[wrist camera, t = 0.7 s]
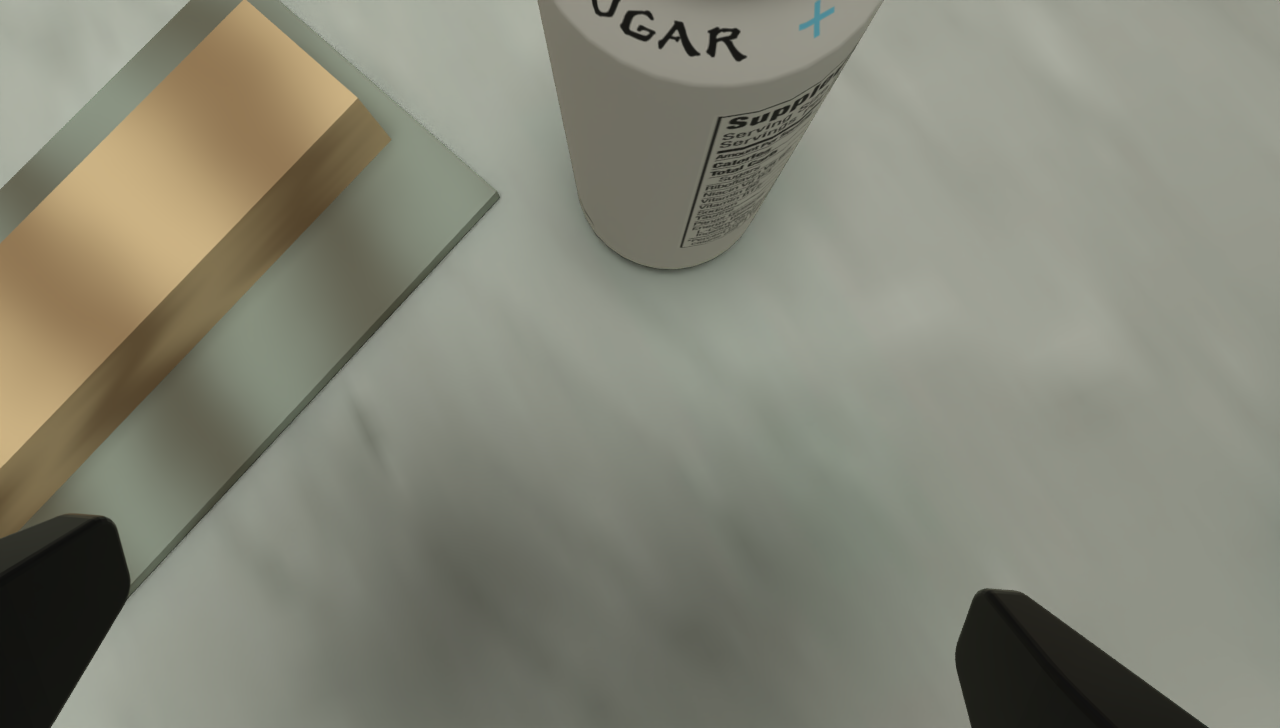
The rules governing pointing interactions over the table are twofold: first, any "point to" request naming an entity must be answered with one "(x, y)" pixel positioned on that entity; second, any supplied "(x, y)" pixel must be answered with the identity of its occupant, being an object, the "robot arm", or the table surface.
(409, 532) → the table surface
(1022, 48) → the table surface
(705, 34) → the energy drink can
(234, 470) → the ridge
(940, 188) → the table surface
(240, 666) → the table surface
